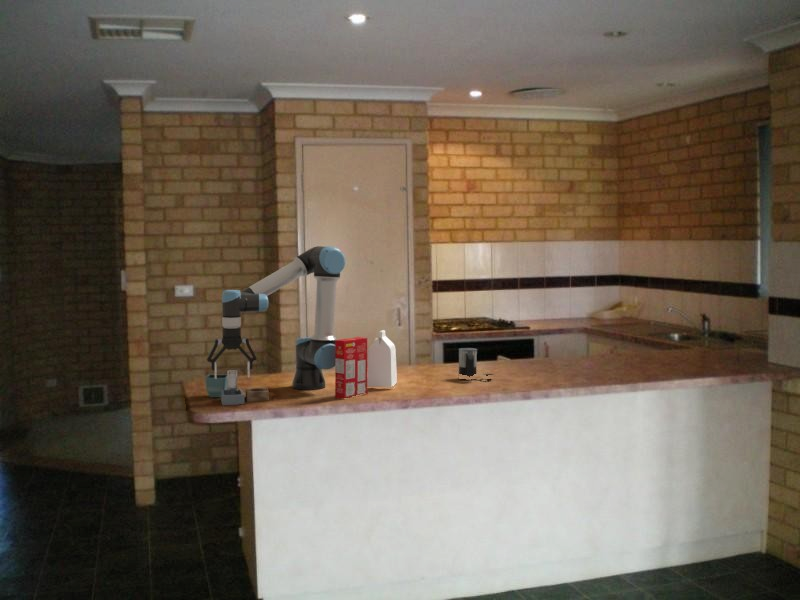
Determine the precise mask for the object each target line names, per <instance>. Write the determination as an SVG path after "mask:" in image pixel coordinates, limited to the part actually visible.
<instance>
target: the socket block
mask: <svg viewBox="0 0 800 600" xmlns="http://www.w3.org/2000/svg"><path fill="white" fill-rule="evenodd" d="M269 393H270V392H269V389H268V388H267V387H252V388H251V387H249V388H245V399H246V402H247V403H248V402H249V403H250V402H252V403H253V402H269V401H270V395H269Z"/></svg>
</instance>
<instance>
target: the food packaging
mask: <svg viewBox="0 0 800 600" xmlns="http://www.w3.org/2000/svg"><path fill="white" fill-rule="evenodd" d="M334 367H335V369H334V370H335V371H334V374H335V375H334V376H335V377H334V378H335V380H334V381H335V382H334V383H335V385H334V386H335V387H334V388H335V390H334V392H335V393H334V395H335V397H337V398H336V399H339V398H348V397H352V396H356V395H360V394H364V393H367V394H368V389H367V377H368V337H361V336H356V337H350V338H342V339H337V340H335V366H334Z"/></svg>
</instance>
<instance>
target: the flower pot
mask: <svg viewBox="0 0 800 600" xmlns="http://www.w3.org/2000/svg"><path fill="white" fill-rule="evenodd" d="M204 381H205V382H204V383H205V390H206V392H207V394H208V396H209V398H220V399H221V390H228V380H227V374H217V379H215V374H208V375H206V376H205V377H204Z"/></svg>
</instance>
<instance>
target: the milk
mask: <svg viewBox="0 0 800 600" xmlns="http://www.w3.org/2000/svg"><path fill="white" fill-rule="evenodd" d="M378 333H379V334H378V337H375V338H374V340H373V341H372V343H371V345H370V346H369V348H368V350H367V387H392V386H394V385H395V384H396V383H397V384H398V378H397V376H398V375H397V373H398V372H397V355H396V354H397V350H396V345H395V343H394V342H393V341H392V340H390V339H389V338H388V336H387V335H386V334H387V333H386V330H385V329H381V330H380V331H379V332H378Z"/></svg>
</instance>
